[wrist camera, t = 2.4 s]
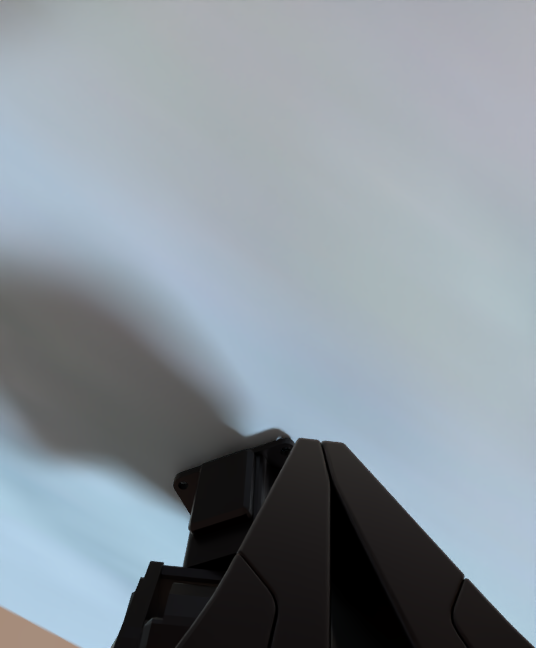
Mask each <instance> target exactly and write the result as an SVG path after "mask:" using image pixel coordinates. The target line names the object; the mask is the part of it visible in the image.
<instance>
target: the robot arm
mask: <svg viewBox="0 0 536 648" xmlns="http://www.w3.org/2000/svg"><path fill="white" fill-rule="evenodd" d="M284 447H287V448H289V450H287V451H284V450H282V448H284ZM181 482H186V483H187V484H182V483H181ZM173 486H174V489H175V491H176V492H177V494H178V495H179V497H180V499H181V500H182V502H183V504H184V505H185V507H186V508H187V510H188V512H189V513H190V515H191V516H190V521H189V526H188V529H189V531H190V533H189V538H188V543H187V548H186V553H185V558H184V563H183V567H178V566H168V565H164V562H155V561H150V564H149V566H148V569H147V572H146V574H145V577H144V578H143V577H141V578H140V581H139V583H138V586H137V588H136V591H135V592H133V593H132V595H131V598H130V601H129V605H128V608H127V612H126V615H125V618H124V621H123V624H122V627H121V629H120V632H119V634H118V636H117V638H116V639H115V641H114V643H113V644H112V646H111V648H535V647H534V646H533V645H532V644H531V643H530V642H529V641H528V640H526V639H525V638H524V637H523V636H522V635H521V634H520V633H519V632H518V631H517V630H516V629H515V628H514V627H513V626H512V625H511V624H510V623H509V622H508V621H507V620H506V619H505V618H504V616H503V615H502V614H501V613H500V612H499V611H498V610H497V609H496V608H495V607H494V606H493V605H492V604H491V603H490V602H489V601H488V600H487V599H486V598H485V597H484V595H483V594H482V593H481V592H480V591H479V590H478V589H477V588H476V587H475V586H474V585H473V583H472V582H471V581H470V580H469V579H467V578H465V579H464V577H465V576H464V574H463V573H462V572H461V571H460V570H459V568H458V567H457V566H456V565H455V564H454V563H453V562H452V561H451V560H450V559H449V557H448V556H447V555H446V554H445V553H444V552H443V551H442V550H441V549H440V548H439V547H438V545H437V544H436V543H435V542H434V541H433V540H432V539H431V538H430V537H429V536H428V535H427V533H426V532H425V531H424V530H423V529H422V528H421V527H420V526H419V525H418V524H417V523H416V521H415V520H414V519H413V518H412V517H411V516H410V515H409V514H408V513H407V512H406V510H405V509H404V508H403V507H402V506H401V505H400V504H399V503H398V502H397V501H396V500H395V498H394V497H393V496H392V495H391V494H390V493H389V492H388V491H387V490H386V489H385V488H384V486H383V485H382V484H381V483H380V482H379V481H378V480H377V479H376V478H375V477H374V476H373V474H372V473H371V472H370V471H369V470H368V469H367V468H366V467H365V466H364V465H363V463H362V462H361V461H360V460H359V459H358V458H357V457H356V456H355V455H354V454H353V453H352V451H351V450H350V449H349V448H348V447H347V446H346V445H345V444H344V443H341V442H332V441H322V442H321V443H320V441H319V440H314V439H306V438H299V439H298V440H297V441H296V443H294V442H293V440H291V439H288V438H283V439H279V440H276V441H273V442H270V443H267V444H264V445H261V446H258V447H255V448H252V449H246V450H243V451H240V452H237V453H234V454H231V455H228V456H225V457H222V458H219V459H216V460H213V461H210V462H207V463H204V464H203V465H202V466H199V467H196V468H193V469H190V470H187V471H184V472H181V473H179V474H177V475H176V477H175V479H174V484H173Z"/></svg>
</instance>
